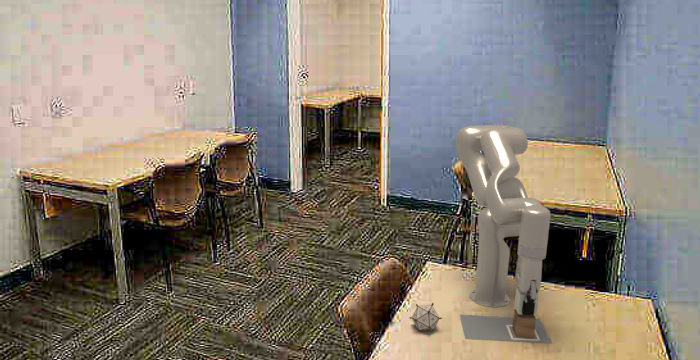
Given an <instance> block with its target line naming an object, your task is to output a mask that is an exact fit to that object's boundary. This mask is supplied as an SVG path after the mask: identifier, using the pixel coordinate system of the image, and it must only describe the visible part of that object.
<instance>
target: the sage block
mask: <svg viewBox="0 0 700 360" xmlns="http://www.w3.org/2000/svg"><path fill="white" fill-rule="evenodd" d="M515 288H516V289H515V298H514V305H513V306H514V307H515V309H516V310H517V313H518V314H522V306H523V301H524V297H525V292H524V293H522V292H521V291H520V289H519V287H518V286H516V287H515ZM528 291H530V289H528ZM530 295H531V294H527V298H528V296H530ZM538 303H539V293H536V300H535V308H534V316H537V313H538V312H537V311H538Z"/></svg>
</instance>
